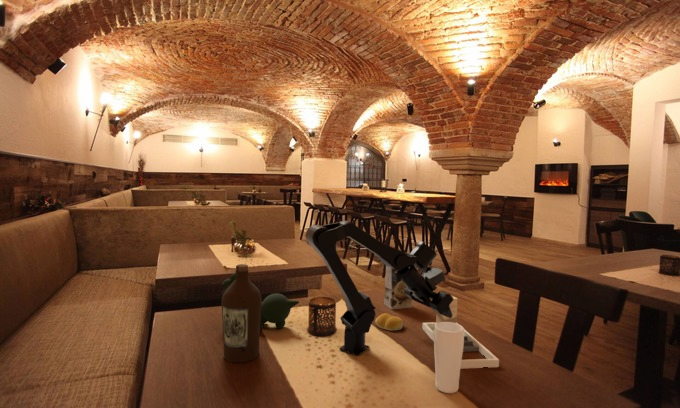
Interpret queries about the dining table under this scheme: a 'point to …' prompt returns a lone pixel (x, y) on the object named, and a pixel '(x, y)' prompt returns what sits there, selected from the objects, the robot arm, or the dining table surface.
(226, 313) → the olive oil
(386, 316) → the bread roll
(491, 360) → the box
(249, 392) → the dining table surface
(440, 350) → the drinking glass
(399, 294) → the white cardboard box
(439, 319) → the maple block
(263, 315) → the toy figurine
